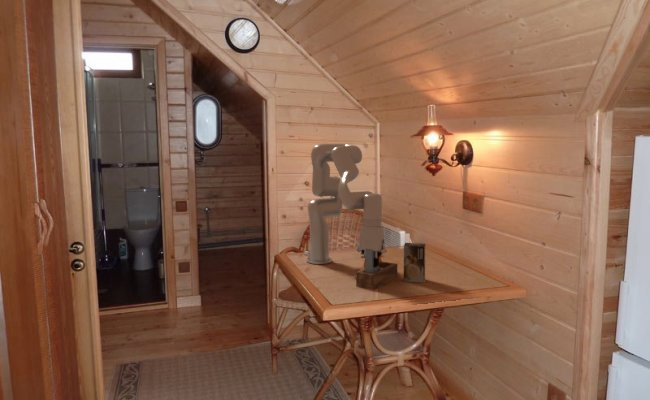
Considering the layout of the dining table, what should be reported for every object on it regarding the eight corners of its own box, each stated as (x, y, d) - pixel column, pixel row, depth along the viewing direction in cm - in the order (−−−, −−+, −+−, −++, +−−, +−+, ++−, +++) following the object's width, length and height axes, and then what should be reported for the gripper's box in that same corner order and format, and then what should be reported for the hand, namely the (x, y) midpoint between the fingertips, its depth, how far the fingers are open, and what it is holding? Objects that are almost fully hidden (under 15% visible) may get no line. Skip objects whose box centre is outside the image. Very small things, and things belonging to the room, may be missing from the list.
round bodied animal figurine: (351, 255, 266) (351, 239, 265) (365, 251, 274) (366, 236, 273) (361, 257, 261) (361, 241, 260) (376, 253, 269) (376, 238, 268)
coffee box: (425, 279, 222) (426, 243, 220) (424, 283, 216) (425, 246, 214) (404, 277, 224) (405, 242, 222) (402, 281, 218) (403, 245, 216)
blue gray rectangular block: (365, 276, 212) (365, 248, 210) (371, 273, 217) (372, 245, 215) (371, 277, 210) (372, 249, 208) (378, 274, 215) (378, 246, 213)
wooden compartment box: (356, 286, 212) (356, 272, 211) (379, 273, 230) (379, 261, 229) (375, 289, 207) (375, 275, 206) (397, 276, 225) (397, 263, 225)
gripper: (350, 222, 212) (350, 265, 214) (386, 226, 203) (385, 270, 205) (359, 220, 218) (359, 261, 220) (394, 223, 209) (393, 266, 212)
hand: (371, 265), depth 213 cm, fingers closed on blue gray rectangular block, 3 cm apart
